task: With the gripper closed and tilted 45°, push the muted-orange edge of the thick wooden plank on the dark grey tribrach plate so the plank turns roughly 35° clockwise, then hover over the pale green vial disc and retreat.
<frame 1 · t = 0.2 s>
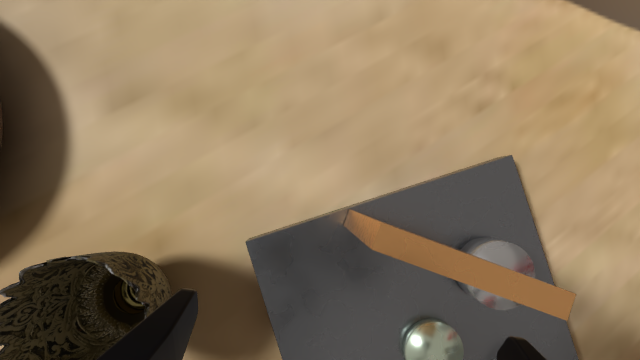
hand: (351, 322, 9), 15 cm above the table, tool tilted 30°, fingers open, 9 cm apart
cup: (146, 286, 23), on the table
thick wooden plank: (462, 262, 18), point 6 cm above the table, hinge at 0.0°
tribrach plate: (418, 324, 24), on the table
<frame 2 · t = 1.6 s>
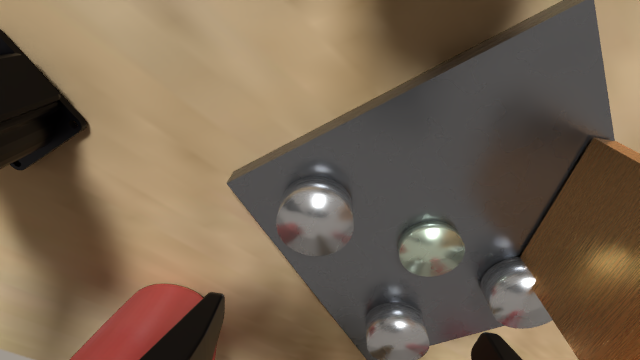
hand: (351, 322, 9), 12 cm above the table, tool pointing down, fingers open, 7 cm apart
flower pot: (178, 311, 28), on the table
thick wooden plank: (594, 292, 16), point 6 cm above the table, hinge at 0.0°
tribrach plate: (437, 225, 22), on the table
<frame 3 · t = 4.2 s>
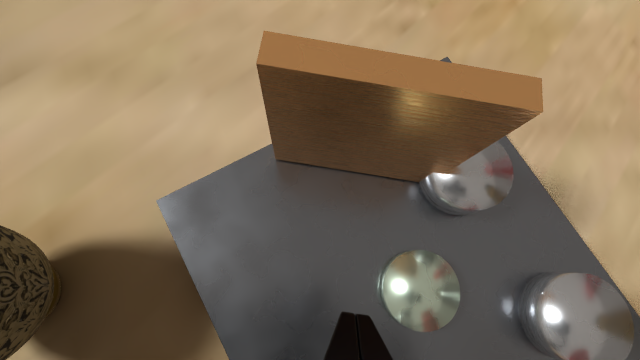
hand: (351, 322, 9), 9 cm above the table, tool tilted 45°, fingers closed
cup: (35, 292, 18), on the table
thick wooden plank: (411, 136, 15), point 6 cm above the table, hinge at 0.0°
tribrach plate: (398, 271, 19), on the table
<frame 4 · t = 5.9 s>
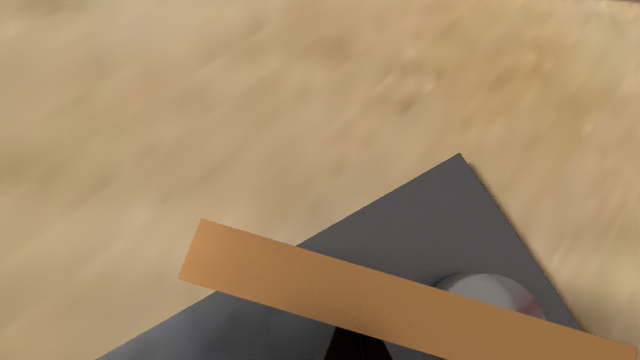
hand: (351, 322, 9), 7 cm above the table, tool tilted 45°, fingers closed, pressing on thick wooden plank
thick wooden plank: (419, 310, 11), point 6 cm above the table, hinge at -7.8°, touching gripper
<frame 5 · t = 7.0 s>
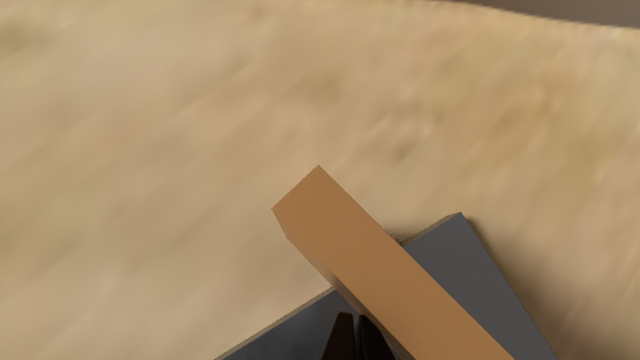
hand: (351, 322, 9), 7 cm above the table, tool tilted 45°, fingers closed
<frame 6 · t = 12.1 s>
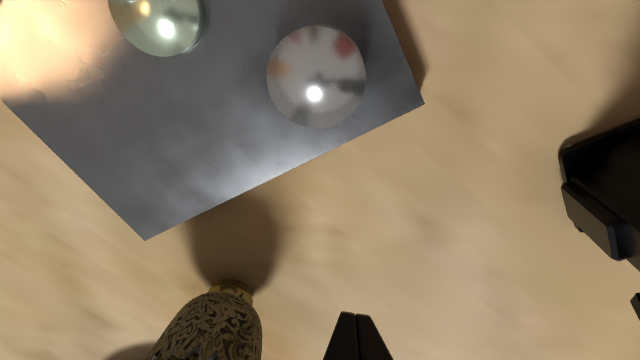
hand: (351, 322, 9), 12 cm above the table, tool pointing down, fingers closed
cup: (233, 290, 27), on the table
tribrach plate: (161, 18, 17), on the table
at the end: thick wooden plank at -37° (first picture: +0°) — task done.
